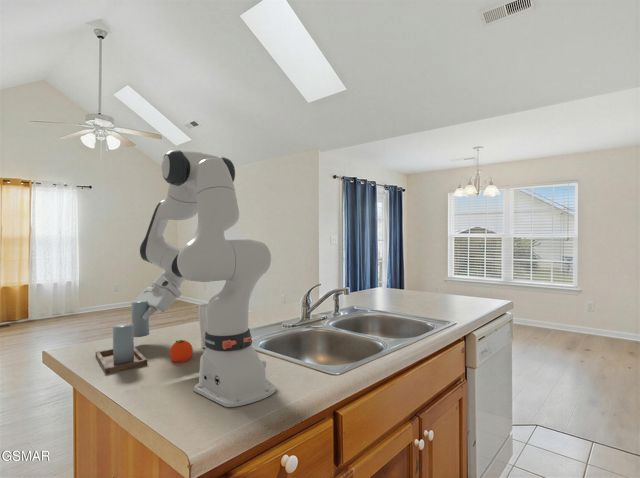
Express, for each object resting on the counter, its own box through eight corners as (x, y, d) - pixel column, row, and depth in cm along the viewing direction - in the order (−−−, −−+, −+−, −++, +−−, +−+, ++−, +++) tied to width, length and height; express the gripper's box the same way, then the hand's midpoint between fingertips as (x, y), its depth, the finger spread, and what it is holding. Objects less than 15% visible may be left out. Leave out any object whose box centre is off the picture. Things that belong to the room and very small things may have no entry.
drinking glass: (221, 343, 133) (221, 303, 132) (214, 349, 126) (214, 307, 126) (204, 343, 133) (203, 303, 133) (196, 349, 127) (195, 307, 126)
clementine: (164, 361, 115) (164, 339, 115) (185, 356, 120) (185, 335, 120) (175, 368, 109) (174, 345, 109) (197, 362, 114) (196, 340, 114)
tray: (147, 368, 110) (147, 359, 110) (105, 377, 103) (105, 368, 103) (132, 352, 124) (132, 344, 124) (95, 359, 117) (95, 351, 117)
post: (151, 335, 129) (150, 301, 129) (134, 338, 126) (133, 303, 126) (147, 332, 134) (146, 299, 133) (130, 334, 130) (129, 301, 130)
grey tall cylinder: (136, 365, 109) (135, 325, 109) (115, 369, 106) (114, 329, 106) (131, 360, 114) (131, 322, 113) (111, 364, 110) (111, 325, 110)
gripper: (146, 279, 142) (120, 308, 134) (171, 283, 128) (144, 316, 121) (158, 289, 145) (133, 318, 138) (184, 294, 132) (157, 326, 124)
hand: (138, 317), depth 129 cm, fingers closed on post, 5 cm apart
